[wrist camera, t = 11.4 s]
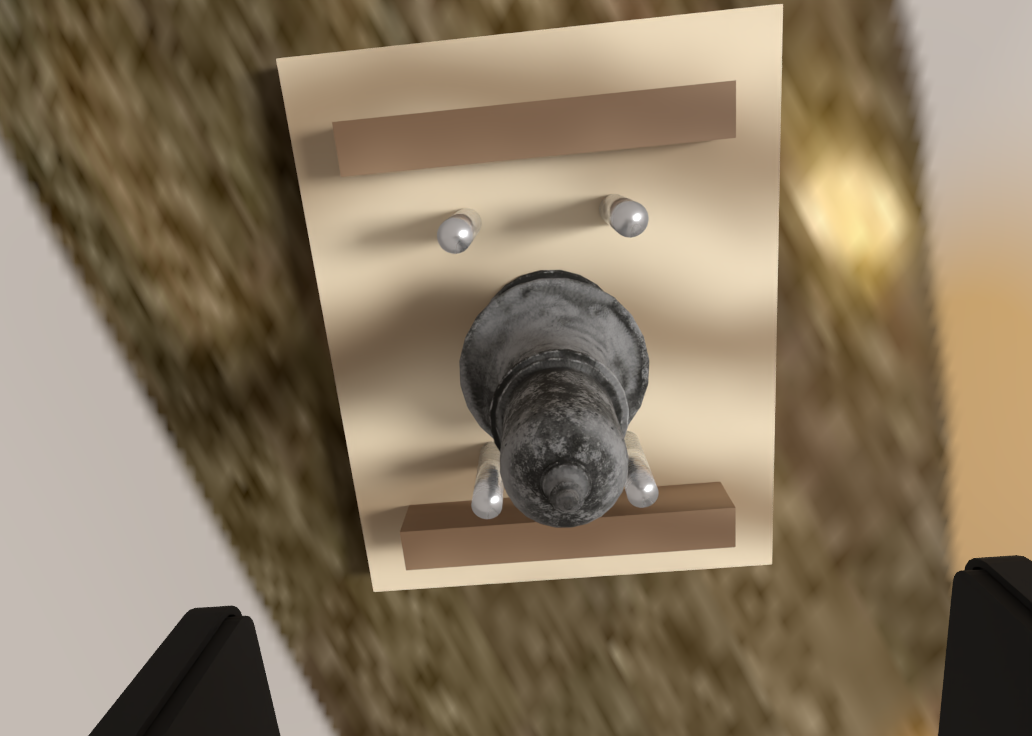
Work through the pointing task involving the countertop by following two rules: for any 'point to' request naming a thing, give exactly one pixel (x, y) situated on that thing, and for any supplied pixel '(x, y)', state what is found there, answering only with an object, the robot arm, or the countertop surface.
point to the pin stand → (550, 246)
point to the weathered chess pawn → (556, 392)
